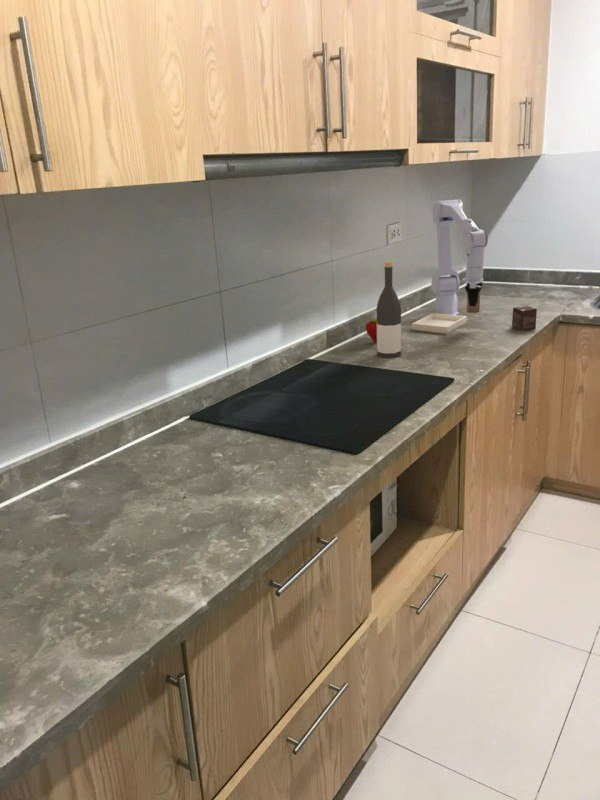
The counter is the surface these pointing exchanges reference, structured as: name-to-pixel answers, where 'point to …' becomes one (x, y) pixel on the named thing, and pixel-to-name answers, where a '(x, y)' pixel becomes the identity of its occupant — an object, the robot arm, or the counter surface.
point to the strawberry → (372, 329)
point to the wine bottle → (388, 319)
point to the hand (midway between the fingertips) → (473, 304)
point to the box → (524, 318)
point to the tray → (439, 323)
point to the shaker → (473, 308)
